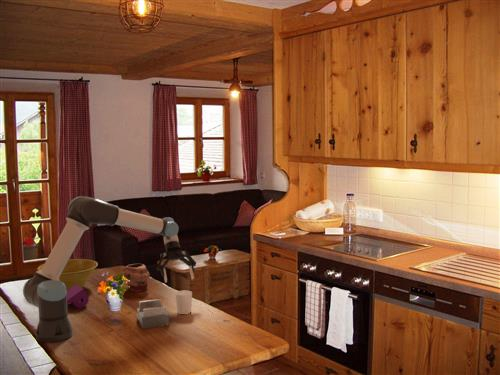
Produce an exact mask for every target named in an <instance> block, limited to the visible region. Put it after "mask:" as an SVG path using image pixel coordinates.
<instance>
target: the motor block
mask: <svg viewBox="0 0 500 375" xmlns="http://www.w3.org/2000/svg"><path fill="white" fill-rule="evenodd" d="M136 311H137V312H136V313H137V317H136V318H137V321H138V323H139V325H140V327H141V328H142V330H143V329H150V328H151V327H152V328H157V327H156V326H159V327H162V326H161V325H166V326H168V325H167V324H169V325H170V317H169V313H168V312H167V307H166V306H165V305H162V299H161V298H158V299H157V298H156V299H149V300H141V301H139V306H138V307H137V309H136ZM152 328H151V329H152Z"/></svg>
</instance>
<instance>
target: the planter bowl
mask: <svg viewBox="0 0 500 375" xmlns="http://www.w3.org/2000/svg"><path fill="white" fill-rule="evenodd" d="M44 264H45V263H43V264H41V265H39V266H38V267H37V271H39V270H41V269H42V268H43V266H44ZM98 265H99V264H98V262H97V261H95V260H92V259H85V258H74V259H73V258H69V260H68V262H67V264H66V265H65V267H64V269H63V271H62V273H61V275H60V277H59V280H60V281H61V282H63V283H64V284H65V286H66V290H67V291H68V290H69V289H70V288H72V287H73V286H75V285H78V286H80V287H82V288H84V287H85V286H86V284H87V282H88V281H89V278H90V276H92V275H93V274H94V273H95V270H96V268H97V267H98Z"/></svg>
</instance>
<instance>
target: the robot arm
mask: <svg viewBox="0 0 500 375" xmlns="http://www.w3.org/2000/svg"><path fill="white" fill-rule="evenodd" d="M67 212H68V213H67V215H66V216H65V217H66V218H65V220H66V224H65V226H64V228H63V230H62V231H61V233H60V235H59V236H58V239H57V240H56V242H55V244H54V245H53V247H52V250H51V251H50V253H49V254H48V257H47V258H46V260H45V263H43V264H44V266H43V268H42V269H41V270H39V271H38V270H36V271H35V273H34V275H33V277H31V278H29V279H27V280H26V282H25V283H24V284H23V288H22V294H23V297H24V299H25V300H26V301H27V302H28V303H29V304H30V305H33V306H34V307H36V308H38V324H37V327H36V331H35V339H36V341H37V342H40V343H57V342H61V341H64V340H67V339H69V338H70V337H72V336H73V332H74V331H73V327H72V324H71V321H70V319H69V314H68V305H67V290H66V286H65V284H64V283H63V282H61V281H60V280H59V277H60V275H61V273H62V271H63V269H64V267H65V265H66V264H67V262H68V260H69V259H71V256H72V254H73V252H74V251H75V249H76V246H77V245H78V243H79V242H80V239H81V238H82V236H83V234H84V232H85V231H87V230H89V229H90V227H92V224H94V225H95V224H96V225H106V226H111V227H113V226H114V225H117V226H121V227H126V228H130V229H134V230H135V229H136V230H139V231H144V232H149V233H153V234H154V233H155V234H158V235H162V238H163V243H164V248H165V252H164V251H161V252H160V258H159V261H158V263H157V266H156V270H157V271H160V274H161V277H163V279H164V283H167V282H168V277H167V271H166V267H167V265H168V264H169V262H170V261H173V262H174V261H180V262H182V263H183V264H185V265H186V266H188V267H189V268H188V270H189V274H190V277H191V278H190V279H191V280H194V278H195V276H194V275H195V274H194V273H195V267H196V265H197V262H196V261H195V259H193V258H194V257H192V256H191V254H189V253H188V252H189V251H188V249H184V250H181V245H180V241H179V237H178V233H179V225H178V224H177V222H175V220H174V218H172V217H169V216H168V217H163V218H160V217H159V218H158V217H155V216H151V215H147V214H143V213H139V212H138V213H137V212H134V211H131V210H126V209H123V208H120V207H119V206H118V205H114V204H112V203H109V202H106V201H103V200H101V199H98V198H94V197H91V196H90V197H89V196H87V195H86V196H84V195H82V196H77V197H75V198H73V199H71V201H70V202H69V204H68V207H67ZM184 256H185V257H184ZM165 257H167V258H166V260H165V261H163V260H164V258H165ZM162 262H164V263H163V264H162Z"/></svg>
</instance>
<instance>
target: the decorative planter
mask: <svg viewBox="0 0 500 375" xmlns="http://www.w3.org/2000/svg"><path fill="white" fill-rule="evenodd" d="M146 266H147V265H145V264H143V263H132V264H128V265H126V266H125V267H124V270H123V271H124V272H123V278H124V277H126V278H127V279H128V280H130V282H128V283H127V282H126V285H127V287H128V286H130V290H129V291H132V292H142V291H145V290H147V288H148V279H149V278H150V276H151V275H150V272H149V271H148V269H147V267H146Z"/></svg>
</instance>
